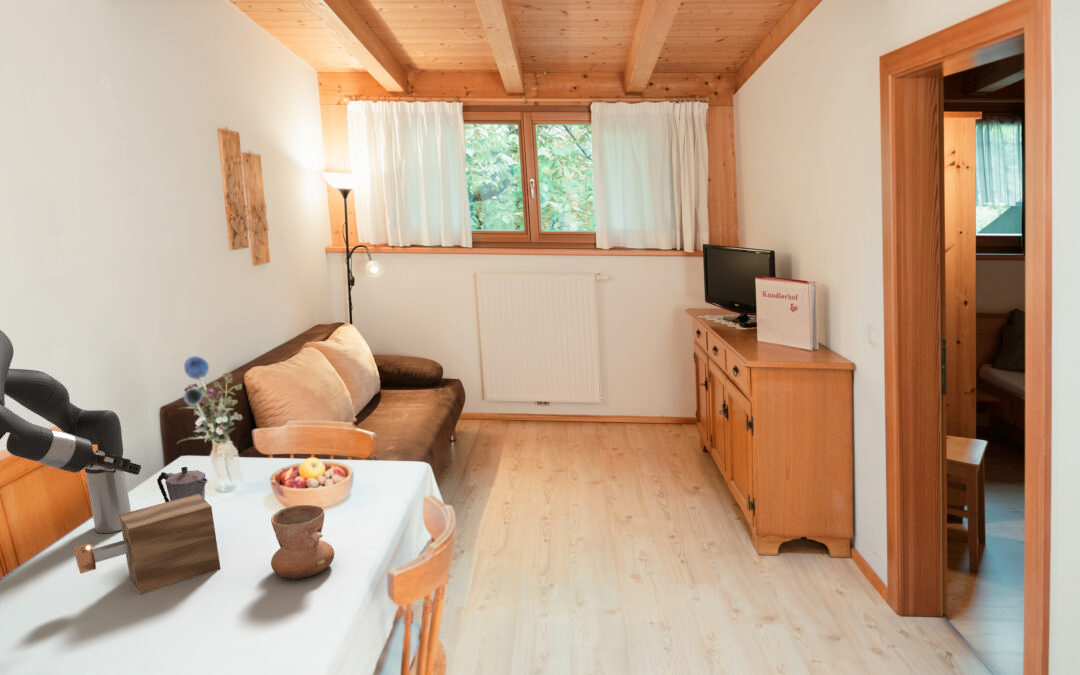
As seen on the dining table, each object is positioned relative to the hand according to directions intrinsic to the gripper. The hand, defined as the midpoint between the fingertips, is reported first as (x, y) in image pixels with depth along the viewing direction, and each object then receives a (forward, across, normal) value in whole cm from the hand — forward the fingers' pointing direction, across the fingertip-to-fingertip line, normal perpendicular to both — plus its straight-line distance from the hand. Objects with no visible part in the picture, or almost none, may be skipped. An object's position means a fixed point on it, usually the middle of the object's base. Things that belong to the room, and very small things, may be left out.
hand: (127, 469), depth 186 cm
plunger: (+9, +1, +19) cm, 21 cm away
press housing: (+20, -2, +20) cm, 28 cm away
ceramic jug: (+32, -30, +15) cm, 46 cm away
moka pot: (+32, +11, +11) cm, 36 cm away
